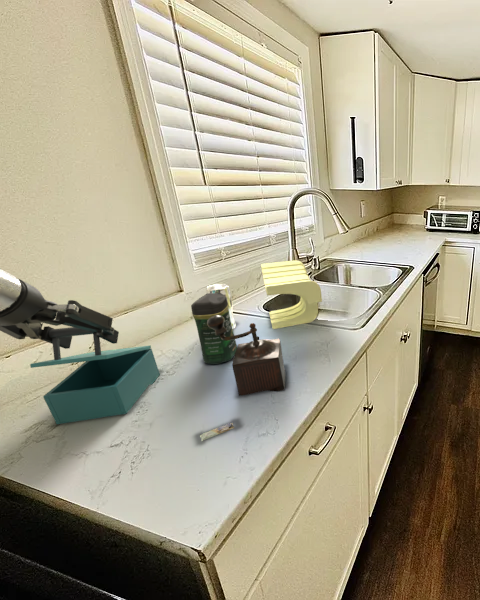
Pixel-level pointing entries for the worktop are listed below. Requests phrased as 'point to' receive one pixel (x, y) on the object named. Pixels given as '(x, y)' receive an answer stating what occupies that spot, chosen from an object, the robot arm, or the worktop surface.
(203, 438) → the granola bar
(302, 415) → the worktop surface
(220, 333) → the manual coffee grinder
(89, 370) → the lunchbox
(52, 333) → the lunchbox lid
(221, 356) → the coffee jar
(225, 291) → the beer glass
